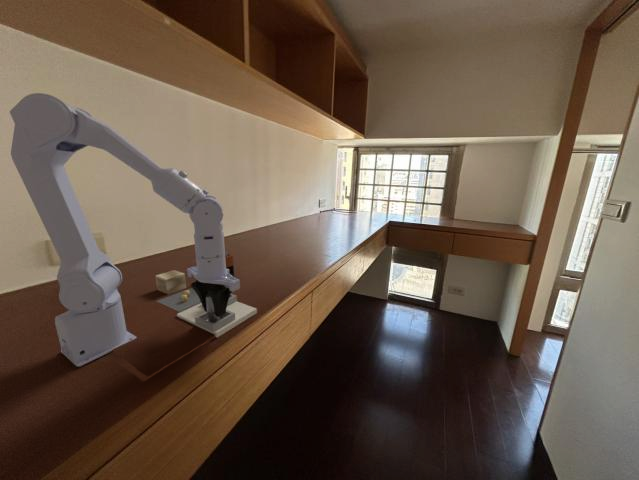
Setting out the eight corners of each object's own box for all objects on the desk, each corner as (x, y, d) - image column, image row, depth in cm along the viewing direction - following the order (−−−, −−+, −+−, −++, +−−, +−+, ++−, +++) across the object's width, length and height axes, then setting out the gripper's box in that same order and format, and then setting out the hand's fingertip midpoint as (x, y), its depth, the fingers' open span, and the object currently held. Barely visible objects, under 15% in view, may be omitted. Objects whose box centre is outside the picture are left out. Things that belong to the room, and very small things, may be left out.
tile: (179, 314, 62) (178, 306, 62) (156, 303, 67) (155, 296, 67) (213, 298, 71) (213, 291, 70) (191, 289, 76) (190, 283, 75)
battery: (222, 286, 79) (220, 255, 76) (211, 280, 83) (209, 250, 81) (235, 282, 82) (233, 252, 80) (223, 276, 86) (221, 248, 84)
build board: (216, 338, 54) (214, 307, 52) (176, 318, 60) (173, 290, 59) (257, 312, 64) (256, 286, 62) (219, 298, 71) (218, 274, 69)
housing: (168, 296, 71) (166, 279, 70) (157, 291, 74) (155, 275, 73) (186, 289, 76) (185, 273, 75) (175, 285, 78) (174, 270, 77)
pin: (214, 324, 55) (211, 299, 54) (204, 320, 57) (202, 295, 55) (226, 317, 58) (224, 293, 57) (216, 313, 60) (214, 290, 58)
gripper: (249, 255, 54) (251, 313, 57) (204, 245, 61) (209, 297, 64) (222, 264, 48) (226, 328, 51) (176, 252, 55) (182, 309, 58)
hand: (215, 312), depth 57 cm, fingers closed on pin, 3 cm apart
